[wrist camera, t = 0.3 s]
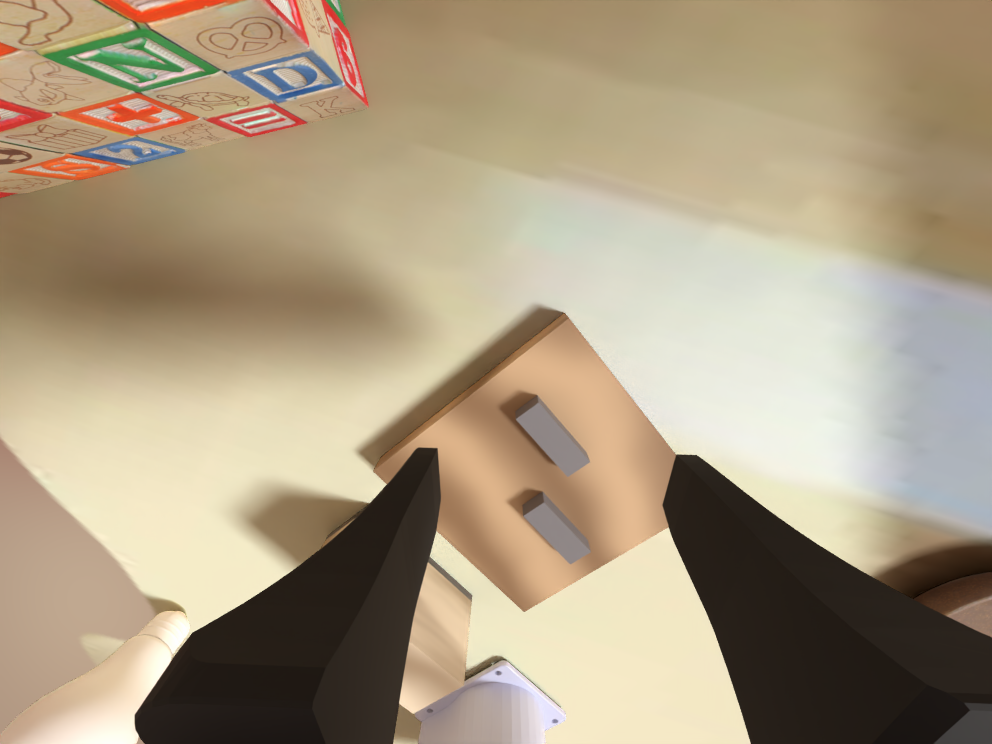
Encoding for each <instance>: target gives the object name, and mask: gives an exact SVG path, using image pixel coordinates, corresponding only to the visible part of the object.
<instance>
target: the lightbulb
mask: <svg viewBox="0 0 992 744" xmlns="http://www.w3.org/2000/svg"><path fill="white" fill-rule="evenodd" d="M189 630H190V623H189V621H188V620H187V618H186V615H185V614H184V613H183V612H181V611H164V612H161V613H159V614H157V615H156V616H155V617H154V618H153V619H152V620H151V621H150V622H149V623H148V624H147V625H146V626H145V627H144V628H143V629H142V630H141V631H140V632H139V633H138V634H137V635H136V636H135V637H133V638H130V639H129V640H127V641H126V642H125V643H124V644H123V645H122V646H121V647H120V648H119V649H118V650H117V651H116V652H115V653H113V654H112V655H111V656H110V657H108V658H107V659H106V660H105V661H104V662H102V663H101V664H100V665H98V666H96V667H95V668H93V669H92V670H90V671H89V672H87V673H86V674H84V675H82V676H80V677H78V678H76V679H74V680H72V681H70V682H68V683H66V684H64V685H62V686H60V687H59V688H57V689H55V690H53V691H52V692H50V693H48V694H47V695H44V696H43V697H41V698H40V699H38V700H37V701H36V702H35V703H33V704H32V705H30V706H29V707H28V708H26V709H25V710H24V711H22V712H21V713H20V714H19V715H18V716H17V717H16V718H15V719H14V720H13V721H12V722H11V723H10V724H9V725H8V726H7V727H6V728H5V729H4V731H3V732H2V733H1V735H0V744H136V743H137V740H138V737H139V735H138V733H137V732H136V730H135V713H136V712H137V710H138V709H139V707H140V706H141V705H142V703H143V702H144V700H145V699H146V697H147V696H148V694H149V693H150V691H151V690H152V688H153V687H154V686H155V684H156V683H157V681H158V680H159V678H160V677H161V675H162V674H163V672H164V671H165V669H166V668H167V667H168V665H169V664H170V661H171V658H172V654H173V653H174V652H175V651H176V650H177V648H178V646H179V645H180V644H181V642H182V641H183V640H184V638H185V637H186V635H187V634H188V632H189Z"/></svg>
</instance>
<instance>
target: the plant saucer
mask: <svg viewBox="0 0 992 744" xmlns="http://www.w3.org/2000/svg"><path fill="white" fill-rule="evenodd" d="M913 600H915V601H917V602H919V603H921V604H923V605H925V606H927V607H929V608H931V609H933V610H935V611H937V612H939V613H941V614H943V615H945V616H947V617H949V618H952V619H954V620H956V621H958V622H960V623H962V624H964V625H966V626H968V627H970V628H972V629H974V630H976V631H979V632H981V633H983V634H985V635H988V636H990V637H992V572H987V573H981V574H976V575H971V576H967V577H963V578H959V579H956V580H953V581H950V582H947V583H945V584H942V585H940V586H937V587H935V588H933V589H931V590H929V591H927V592H925V593H923V594H921V595H919V596H918V597H916V598H914V599H913Z"/></svg>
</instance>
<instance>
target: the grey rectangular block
mask: <svg viewBox="0 0 992 744" xmlns="http://www.w3.org/2000/svg"><path fill="white" fill-rule="evenodd" d="M515 415H516V420H517V421H518V422H519V424H520V425H521V426H522V427H523V428H524V429H525V430H526V431H527V432H528V434H529V435H530V436H531V437H532V438H533V439H534V440H535V441H536V442H537V444H538V445H539V446H540V447H541V448H542V449H543V450H544V451H545V452H546V454H547V455H548V456H549V457H550V458H551V459H552V460H553V461H554V462H555V464H556V465H557V466H558V467H559V468H560V469H561V470H562V471H563V472H564V474H565V475H566V476H567V477H569V476H570V475H572V474H573V473H575V472H576V471H578V470H579V469H581V468H582V467H584V466H585V465H587V464H588V463H590V460H589V457H588V455H587V452H586V451H585V450H584V449H583V448H582V446H581V445H580V444H579V443H578V442H577V441H576V439H575V438H574V437H573V436H572V435H571V434H570V432H569V431H568V430H567V429H566V428H565V427H564V425H563V424H562V423H561V422H560V421H559V420H558V419H557V417H556V416H555V415H554V414H553V413H552V412H551V410H550V409H549V408H548V407H547V406H546V405H545V403H544V402H543V401H542V400H541V399H540V398H539V396H538V395H536V396H535V397H534V398H532V399H531V400H530V401H528V402H527V403H526V404H524V405H523V406H522V407H520V408H519V409H518V410H516V411H515Z"/></svg>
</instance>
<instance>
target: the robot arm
mask: <svg viewBox="0 0 992 744" xmlns="http://www.w3.org/2000/svg"><path fill="white" fill-rule="evenodd" d="M440 503H441V489H440V474H439V460H438V448H422V447H418V448H417V449H415V450H414V452H413V453H412V454H411V456H410V457H409V458H408V459H407V461H406V462H405V463H404V465H403V466H402V467H401V468H400V470H399V471H398V472H397V473H396V474H395V476H394V477H393V478H392V479H391V480H390V482H389V483H388V484H387V485H386V486H385V487H384V488H383V490H382V491H381V492H380V493H379V494H378V495H377V496H376V497H375V498H374V499H373V501H372V502H371V503H370V504H369V505H368V506H367V507H366V508H365V509H364V510H363V511H362V512H361V513H360V514H359V515H358V516H357V517H356V518H355V519H354V520H353V521H352V522H351V523H350V524H349V525H348V526H346V527H345V528H344V529H343V530H342V531H341V532H340V533H339V534H338V535H336V536H335V537H334V538H333V539H332V540H331V541H330V542H328V543H327V544H326V545H325V546H324V547H322V548H321V549H320V550H319V551H317V552H316V553H315V554H314V555H312V556H311V557H310V558H309V559H307V560H306V561H305V562H303V563H302V564H301V565H299V566H298V567H297V568H296V569H294V570H293V571H291V572H290V573H289V574H287V575H286V576H284V577H283V578H281V579H280V580H278V581H277V582H276V583H274V584H273V585H271V586H270V587H268V588H267V589H265V590H263V591H262V592H260V593H259V594H257V595H256V596H254V597H253V598H251V599H250V600H248V601H246V602H245V603H243V604H241V605H240V606H238V607H236V608H235V609H233V610H231V611H230V612H228V613H226V614H224V615H223V616H221V617H219V618H218V619H216V620H214V621H212V622H211V623H209V624H207V625H206V626H204V627H202V628H200V629H198V630H197V631H195V632H193V633H192V634H191V635H190V637H189V638H188V639H187V641H186V642H185V643H184V644H183V646H182V647H181V648H180V650H179V651H178V652H177V653H176V655H175V656H174V658H173V659H172V661H171V662H170V664H169V665H168V667H167V668H166V669H165V671H164V672H163V674H162V675H161V677H160V678H159V680H158V681H157V683H156V684H155V686H154V687H153V688H152V690H151V691H150V693H149V694H148V696H147V697H146V699H145V700H144V702H143V703H142V705H141V706H140V707H139V709H138V710H137V712H136V713H135V730H136V732H137V733H138V735H139V737H140V739H141V740H142V741H143V742H144V743H145V744H393V740H394V733H395V727H396V720H397V714H398V707H399V701H400V694H401V688H402V682H403V676H404V670H405V664H406V658H407V652H408V646H409V641H410V635H411V629H412V623H413V618H414V614H415V609H416V605H417V601H418V597H419V593H420V590H421V586H422V582H423V579H424V575H425V571H426V567H427V564H428V560H429V556H430V553H431V549H432V545H433V541H434V537H435V534H436V530H437V523H438V517H439V510H440ZM662 506H663V509H664V513H665V516H666V520H667V523H668V526H669V529H670V532H671V535H672V538H673V540H674V543H675V545H676V547H677V549H678V552H679V554H680V556H681V558H682V561H683V563H684V565H685V567H686V569H687V571H688V574H689V576H690V578H691V580H692V582H693V584H694V587H695V589H696V591H697V593H698V595H699V597H700V600H701V602H702V604H703V606H704V608H705V610H706V613H707V615H708V617H709V620H710V622H711V625H712V627H713V629H714V632H715V635H716V638H717V641H718V643H719V646H720V649H721V652H722V655H723V658H724V660H725V663H726V666H727V669H728V672H729V675H730V678H731V681H732V684H733V687H734V690H735V693H736V697H737V700H738V703H739V706H740V709H741V712H742V715H743V719H744V722H745V725H746V729H747V732H748V735H749V739H750V742H751V744H992V637H990V636H988V635H985V634H983V633H981V632H979V631H976V630H974V629H972V628H970V627H968V626H966V625H964V624H962V623H960V622H958V621H956V620H954V619H952V618H949V617H947V616H945V615H943V614H941V613H939V612H937V611H935V610H933V609H931V608H929V607H927V606H925V605H923V604H921V603H919V602H917V601H915V600H913V599H911V598H910V597H908V596H906V595H904V594H902V593H900V592H898V591H896V590H895V589H893V588H891V587H889V586H887V585H885V584H884V583H882V582H880V581H878V580H876V579H875V578H873V577H871V576H869V575H867V574H866V573H864V572H862V571H860V570H859V569H857V568H855V567H854V566H852V565H850V564H848V563H847V562H845V561H843V560H842V559H840V558H839V557H837V556H835V555H834V554H832V553H831V552H829V551H827V550H826V549H824V548H823V547H821V546H819V545H818V544H816V543H815V542H813V541H812V540H810V539H809V538H807V537H806V536H804V535H803V534H801V533H800V532H798V531H797V530H795V529H794V528H793V527H791V526H790V525H788V524H787V523H785V522H784V521H783V520H781V519H780V518H778V517H777V516H776V515H774V514H773V513H772V512H770V511H769V510H767V509H766V508H765V507H763V506H762V505H761V504H759V503H758V502H757V501H755V500H754V499H753V498H752V497H750V496H749V495H748V494H746V493H745V492H744V491H743V490H741V489H740V488H739V487H737V486H736V485H735V484H734V483H732V482H731V481H730V480H729V479H727V478H726V477H725V476H723V475H722V474H721V473H720V472H718V471H717V470H716V469H715V468H713V467H712V466H711V465H709V464H708V463H707V462H705V461H704V460H703V459H701V458H700V457H699V456H697V455H676V457H675V460H674V464H673V468H672V471H671V475H670V479H669V482H668V486H667V490H666V493H665V497H664V501H663V504H662ZM415 717H416V718H417V719H418V720H420V721H421V722H422V723H421V729H420V735H419V740H418V744H546V740H545V731H546V730H548V729H550V728H552V727H554V726H556V725H558V724H560V723H562V722H564V721H565V720H566V713H565V711H564V710H563V709H561V708H560V707H559V706H558V705H557V704H556V703H554V702H553V701H552V700H551V699H550V698H549V697H548V696H546V695H545V694H544V693H543V692H542V691H541V690H540V689H538V688H537V687H536V686H535V685H534V684H533V683H531V682H530V681H529V680H528V679H527V678H526V677H525V676H523V675H522V674H521V673H520V672H519V671H518V670H517V669H515V668H514V667H513V666H512V665H511V664H510V663H508V662H507V661H499V662H498V663H496V664H494V665H492V666H491V667H489V668H487V669H485V670H483V671H482V672H480V673H478V674H476V675H475V676H473V677H471V678H469V679H467V680H466V681H464V686H462V687H460V688H459V689H457V690H455V691H453V692H451V693H450V694H448V695H446V696H444V697H442V698H441V699H439V700H437V701H435V702H434V703H432V704H430V705H428V706H426V707H425V708H423V709H421V710H419V711H417V712H416V713H415Z"/></svg>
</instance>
